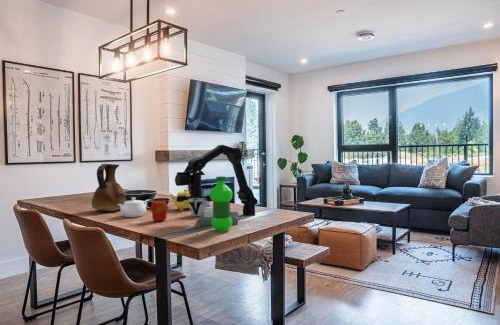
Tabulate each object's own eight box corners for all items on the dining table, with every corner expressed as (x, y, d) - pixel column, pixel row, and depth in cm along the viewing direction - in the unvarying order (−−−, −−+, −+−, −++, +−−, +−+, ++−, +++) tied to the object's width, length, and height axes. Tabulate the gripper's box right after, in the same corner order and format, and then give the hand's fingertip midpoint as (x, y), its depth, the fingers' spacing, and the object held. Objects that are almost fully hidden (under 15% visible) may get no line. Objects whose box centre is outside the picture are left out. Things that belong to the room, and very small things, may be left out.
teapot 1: (138, 212, 216) (137, 194, 215) (155, 213, 210) (155, 195, 209) (109, 218, 196) (108, 199, 196) (127, 220, 190) (126, 200, 190)
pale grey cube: (212, 217, 181) (212, 209, 181) (211, 219, 178) (211, 211, 178) (204, 217, 181) (204, 210, 181) (204, 219, 178) (203, 211, 178)
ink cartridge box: (210, 214, 204) (209, 189, 203) (207, 216, 198) (206, 190, 198) (194, 214, 206) (193, 189, 205) (190, 216, 200) (190, 190, 200)
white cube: (214, 214, 190) (214, 207, 190) (213, 215, 187) (213, 208, 187) (206, 214, 190) (206, 207, 190) (206, 215, 187) (205, 208, 187)
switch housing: (238, 218, 192) (238, 211, 192) (237, 224, 176) (237, 217, 176) (201, 218, 192) (201, 212, 192) (197, 225, 176) (197, 217, 176)
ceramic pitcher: (131, 208, 230) (130, 162, 229) (114, 214, 210) (113, 164, 209) (104, 208, 233) (103, 162, 232) (85, 213, 214) (83, 164, 213)
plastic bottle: (237, 230, 163) (236, 176, 162) (217, 234, 157) (216, 178, 156) (225, 226, 171) (225, 175, 170) (206, 230, 165) (205, 176, 164)
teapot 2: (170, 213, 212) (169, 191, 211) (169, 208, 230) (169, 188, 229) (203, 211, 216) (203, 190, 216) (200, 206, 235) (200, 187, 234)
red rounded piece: (151, 223, 183) (150, 200, 182) (151, 220, 191) (150, 198, 190) (168, 221, 185) (167, 199, 185) (167, 218, 193) (166, 197, 193)
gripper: (215, 182, 187) (216, 211, 188) (180, 183, 187) (181, 212, 188) (213, 184, 176) (214, 215, 177) (176, 185, 176) (176, 216, 176)
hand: (196, 215), depth 180 cm, fingers closed
